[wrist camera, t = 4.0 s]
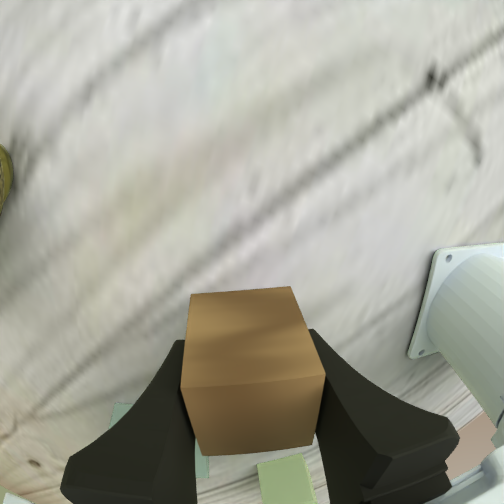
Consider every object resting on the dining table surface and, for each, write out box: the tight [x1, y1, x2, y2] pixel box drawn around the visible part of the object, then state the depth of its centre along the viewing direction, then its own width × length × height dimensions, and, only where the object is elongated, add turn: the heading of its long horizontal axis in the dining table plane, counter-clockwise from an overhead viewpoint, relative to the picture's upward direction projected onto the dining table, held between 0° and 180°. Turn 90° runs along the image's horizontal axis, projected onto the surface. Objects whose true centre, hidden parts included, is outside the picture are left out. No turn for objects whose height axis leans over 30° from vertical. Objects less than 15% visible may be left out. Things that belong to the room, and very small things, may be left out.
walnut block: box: [180, 286, 326, 456], centre depth 11 cm, size 4×4×5 cm
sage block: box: [257, 453, 318, 504], centre depth 21 cm, size 4×4×5 cm
